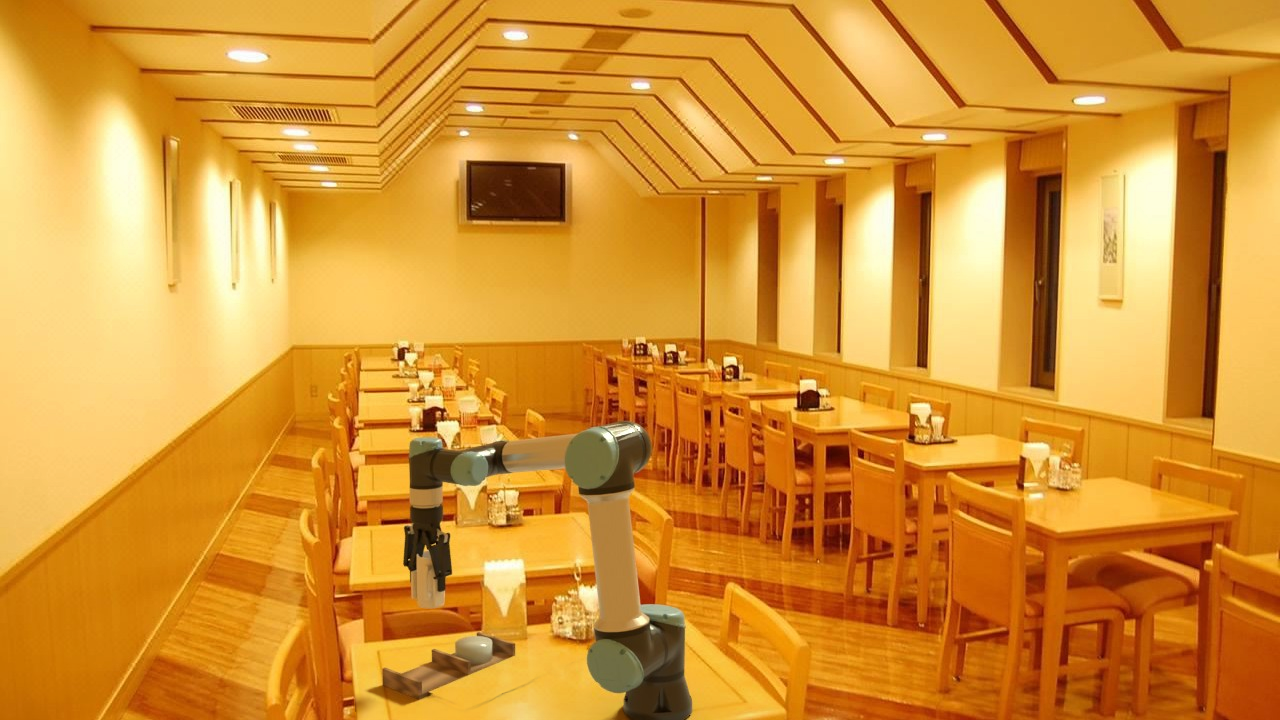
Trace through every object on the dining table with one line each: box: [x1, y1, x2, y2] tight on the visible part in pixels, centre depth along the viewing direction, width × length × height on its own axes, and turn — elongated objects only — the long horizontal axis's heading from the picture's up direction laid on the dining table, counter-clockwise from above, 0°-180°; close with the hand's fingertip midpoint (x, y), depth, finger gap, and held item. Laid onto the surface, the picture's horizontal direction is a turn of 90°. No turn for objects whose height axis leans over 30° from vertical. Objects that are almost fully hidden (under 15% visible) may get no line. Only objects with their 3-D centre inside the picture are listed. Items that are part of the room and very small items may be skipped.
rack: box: [381, 631, 516, 701], centre depth 244 cm, size 13×30×4 cm, turn 142°
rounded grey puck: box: [454, 635, 492, 666], centre depth 249 cm, size 9×9×4 cm
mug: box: [416, 550, 446, 609], centre depth 236 cm, size 10×7×12 cm, turn 179°
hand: (427, 600), depth 237 cm, fingers closed on mug, 7 cm apart
